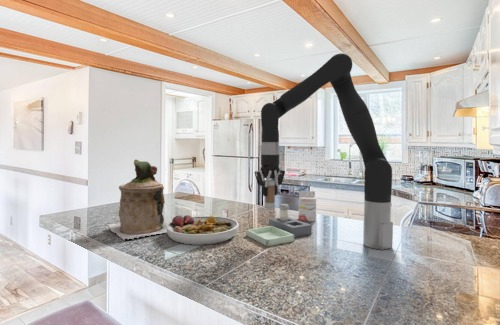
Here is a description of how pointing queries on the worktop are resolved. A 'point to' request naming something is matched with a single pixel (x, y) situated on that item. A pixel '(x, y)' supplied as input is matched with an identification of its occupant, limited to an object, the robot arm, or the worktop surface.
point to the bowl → (201, 229)
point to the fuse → (284, 212)
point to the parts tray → (270, 235)
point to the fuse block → (292, 226)
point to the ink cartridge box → (307, 206)
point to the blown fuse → (270, 195)
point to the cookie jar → (141, 205)
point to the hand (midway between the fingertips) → (269, 195)
